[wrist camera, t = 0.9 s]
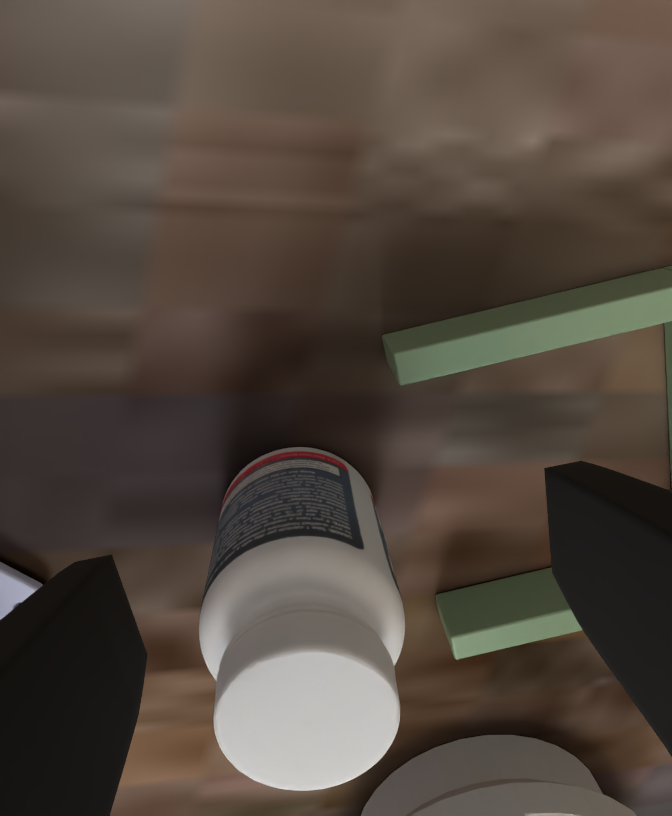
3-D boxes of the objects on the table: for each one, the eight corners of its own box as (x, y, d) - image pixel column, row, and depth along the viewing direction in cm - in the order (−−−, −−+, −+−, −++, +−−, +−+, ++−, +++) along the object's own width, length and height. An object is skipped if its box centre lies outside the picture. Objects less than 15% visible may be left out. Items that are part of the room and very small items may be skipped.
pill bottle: (189, 507, 21) (123, 717, 13) (307, 412, 20) (320, 570, 12) (291, 604, 23) (293, 848, 14) (405, 520, 22) (477, 726, 13)
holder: (438, 615, 23) (455, 661, 21) (380, 334, 19) (392, 353, 17) (700, 553, 23) (744, 593, 21) (692, 259, 19) (745, 269, 17)
